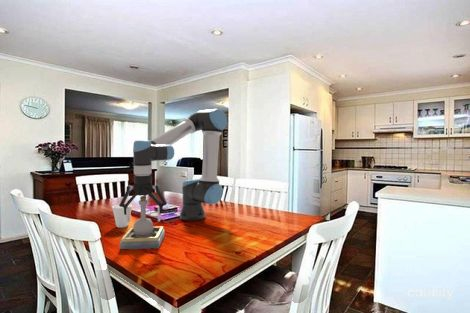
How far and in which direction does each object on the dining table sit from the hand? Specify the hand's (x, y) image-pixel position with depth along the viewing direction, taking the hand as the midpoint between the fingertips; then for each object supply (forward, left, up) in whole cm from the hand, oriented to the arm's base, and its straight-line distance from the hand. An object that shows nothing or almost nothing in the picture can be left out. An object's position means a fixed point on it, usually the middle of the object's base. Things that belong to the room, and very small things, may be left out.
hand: (143, 221), depth 118 cm
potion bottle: (0, 0, -6) cm, 7 cm away
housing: (0, 0, -10) cm, 10 cm away
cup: (+17, -25, -10) cm, 32 cm away
